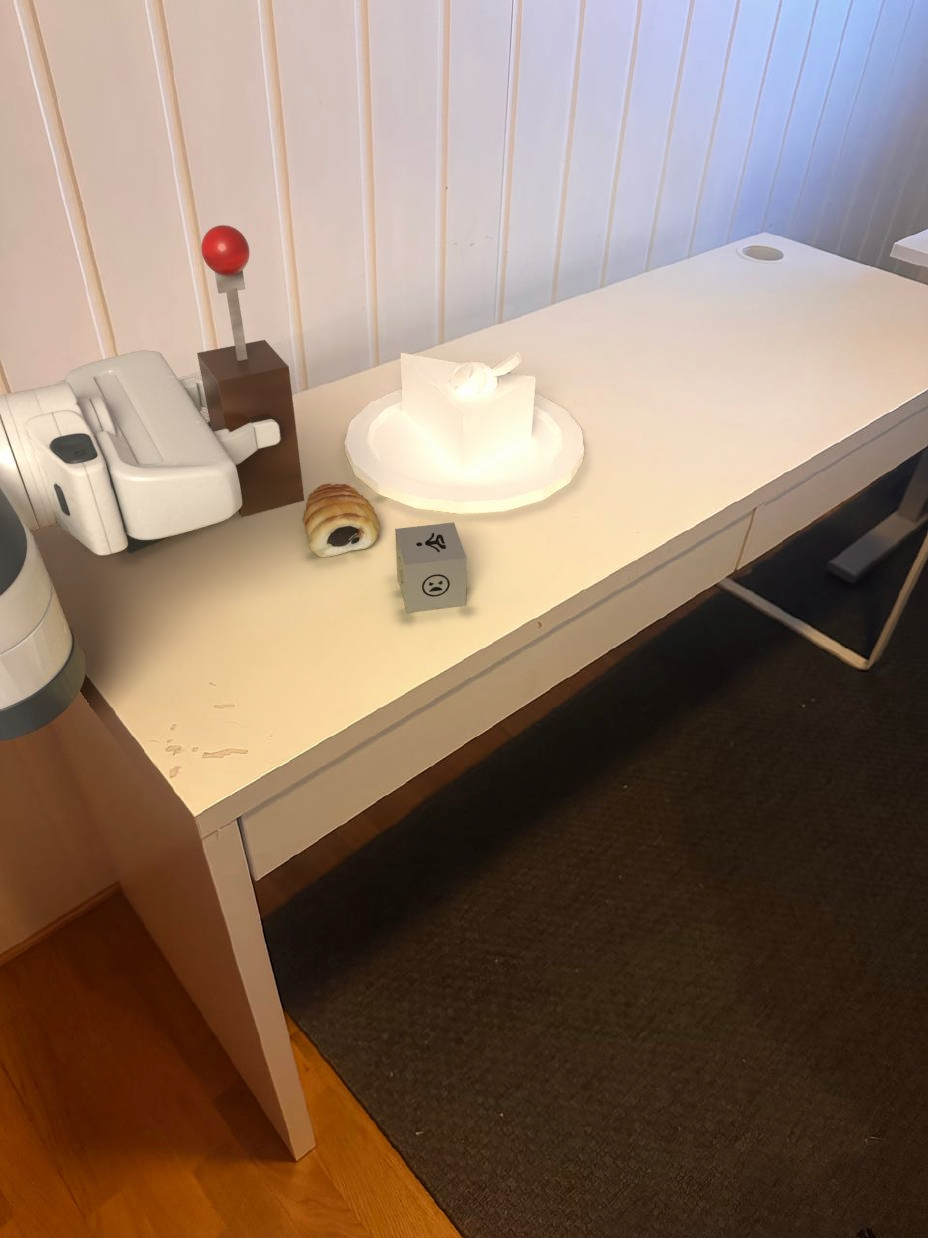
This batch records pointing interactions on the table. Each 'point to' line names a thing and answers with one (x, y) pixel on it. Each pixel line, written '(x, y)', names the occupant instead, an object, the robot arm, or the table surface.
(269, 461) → the red ball lever
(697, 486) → the table surface
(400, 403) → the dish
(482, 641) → the table surface
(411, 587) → the dice cube
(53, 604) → the robot arm
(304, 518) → the pastry
